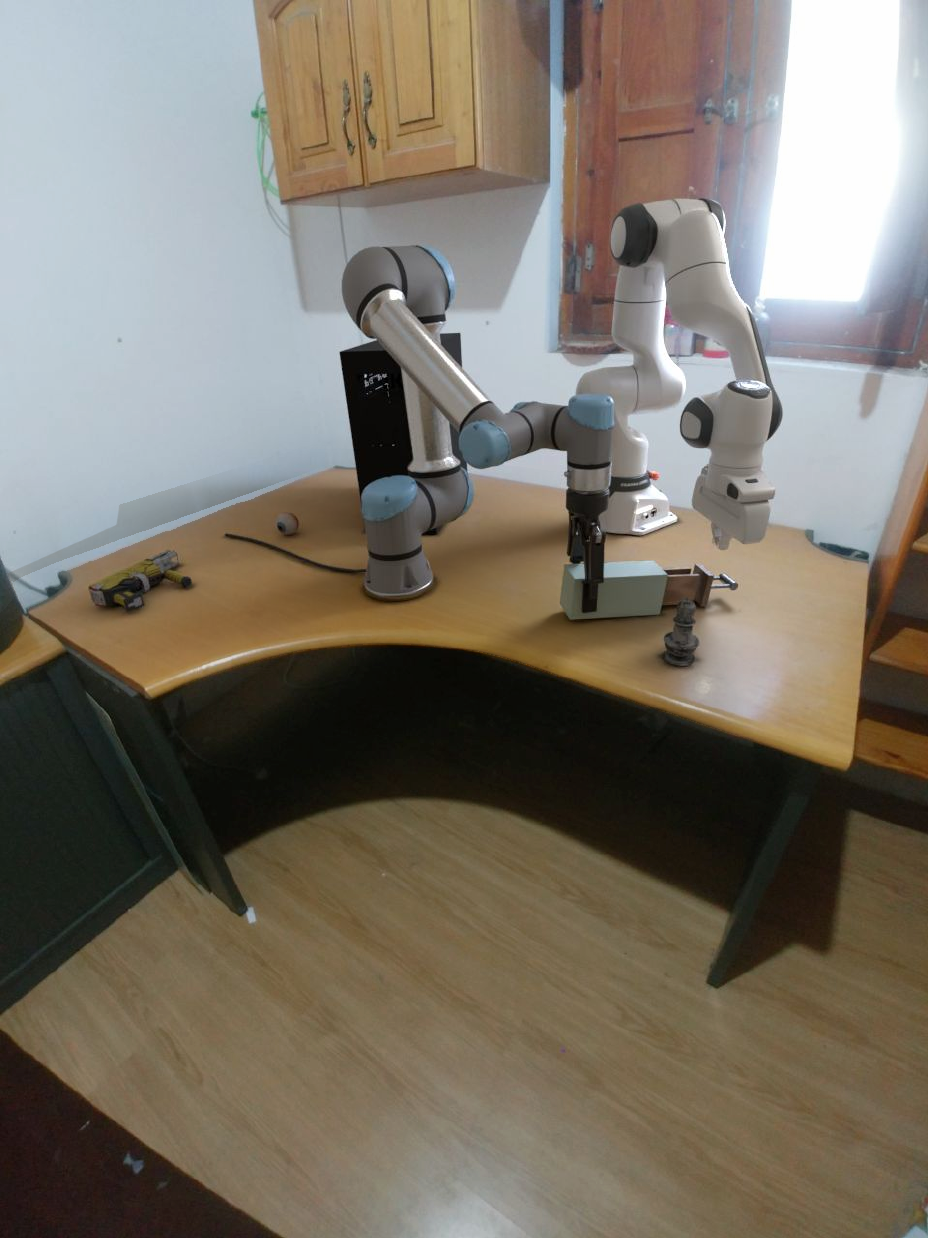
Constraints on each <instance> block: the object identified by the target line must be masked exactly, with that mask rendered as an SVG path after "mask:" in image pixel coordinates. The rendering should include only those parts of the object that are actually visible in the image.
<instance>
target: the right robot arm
mask: <svg viewBox="0 0 928 1238" xmlns="http://www.w3.org/2000/svg"><path fill="white" fill-rule="evenodd" d="M725 217H726V216H725V213H724V209H723V207H722V204H720V203H719V202H718V201H716V200H713V199H709V198H704V197H700V198H698V199H695V198H668V199H666V200H657V201H651V202H647V203H641V202H637V203H633V204H629V205H627V206H625V207H623V208H621V209H620V210H619V211H618V213H617V215H616V216H615V217H614V220H613V221H612V224H611V229H610V235H609V248H610V252H611V257H612V259H614V261H615V263H616V264H617V265H619V267H618V273H617V278H616V284H615V288H614V289H615V290H614V300H613V308H612V309H613V312H612V321H611V338H612V339H613V341H614V343H615V344H616V345H617V346H618V347H620V348H621V349H623V350H624V351H627V352H629V353H632V357H633V361H632V362H633V363H632V364H631V365H623V366H622V365H621V366H610V367H607V366H605V367H600V368H597V369H592V370H591V371H587V372H584V373H583V374H582V375H581V377H580V378H579V380H578V382H577V384H576V387H575V395H579V394H587V393H590V394H595V393H598V394H605V395H608V396H610V397H611V398H612V399H613V401H614V423H615V425H614V428H613V438H612V451H611V480H610V486H609V487H608V489H609V506H608V509H607V510H606V511H605V512H603V513H601V514H600V515H599V521H600V527H601V528H600V531H605V532H606V533H611V534H623V535H625V534H626V535H632V536H633V535H634V536H645V535H646V534H650V533H652V532H654V531H657V530H660V529H662V528H665V527H668V526H670V525H672V524H675V523H677V522H678V516H677V515H676V514H675V513H674V512H672V511H670V503H669V502H670V501H669V498H668V497H667V496H666V495H665V494H664V493H663V492H662V490H661V489H658V488H656V487H655V486H654V485H652V483H651V480H653V481H658V479H659V478H660V473H659V472H657V471H654V470H651V471H649V470H648V469H647V466H648V458H649V457H648V456H649V447H650V443H649V440H648V438H647V437H646V435H645V434H644V433H643V432H640V431H639V430H637V429H636V428H633V427H631V426H629V422H628V421H629V419H628V418H629V417H630V416H634V415H648V414H658V413H662V412H666V411H670V410H673V409H675V408H677V407H678V406H679V405H680V404H681V402H682V401H683V399H684V396H685V393H686V388H687V382H686V377H685V374H684V372H683V370H682V369H681V368H680V367H679V366H678V365H676V364H675V363H674V362H673V360H672V359H671V358H670V356H669V354H668V352H667V348H666V346H665V340H664V324H665V314H666V305H667V309H668V312H669V315H670V318H671V319H672V320H673V321H674V322H675V323H676V324H677V325H678V326H679V327H681V328H682V329H683V330H685V331H688V332H690V333H692V334H696V335H700V336H703V337H706V338H708V339H711V340H713V341H715V342H716V343H718V344H719V345H721V346H722V347H723V348H724V349H725V350H726V351H727V354H728V356H729V358H730V362H731V365H732V369H733V373H734V377H735V380H733V381H729V382H728V383H726V384H725V385H724V386H723V387H722V389H720V390H717V391H714V392H711V393H708V394H702V395H699V396H695V397H693V398H691V399H690V400H689V401H688V402H687V404H686V405H685V406H684V408H683V410H682V412H681V415H680V422H679V433H680V436H681V437H682V440H683V441H685V443H686V444H687V445H689V446H690V447H692V448H694V449H707V450H709V451H710V457H709V460H708V463H707V464H706V465H704V466H703V467H702V468H701V471H700V475H698V476H697V478H696V480H695V484H694V487H693V493H692V495H691V496H692V497H691V507H692V509H693V510H694V511H696V512H697V513H699V514H700V515H702V516H703V517H704V518H706V519H707V520H709V521H710V522H711V524H710V529H711V533H712V540H711V544H712V545H713V546H715V547H716V548H717V549H718V550H720V551H725V550H728V549H729V545H730V541H731V540H732V539H735V540H736V541H738V542H739V543H740V544H742V545H754V544H758V543H761V542H762V541H763V540H764V539H765V536H766V534H767V529H768V525H769V522H770V516H771V503H770V501H771V500H774V498H775V495H776V488H775V486H774V485H773V484H772V482H771V481H770V480H769V479H768V477H767V476H766V474H765V472H764V470H762V466H763V460H764V458H763V451H764V450H763V449H764V446H765V444H766V442H768V441H769V440H770V439H771V438H772V437H773V436H774V435H775V433H776V432H777V431H778V429H779V428H780V426H781V423H782V420H783V417H784V416H783V413H784V411H783V405H782V402H781V399H780V398H779V395H778V393H777V391H776V389H775V386H774V384H773V382H772V378H771V375H770V370H769V368H768V367H769V366H768V363H767V359H766V356H765V352H764V348H763V344H762V339H761V336H760V332H759V329H758V325H757V322H756V319H755V316H754V313H753V312H752V310H751V308H750V306H749V305H748V304H747V303H746V302H744V301H743V299H741V297H740V296H739V293H738V292H737V290H736V288H735V285H734V284H733V280H732V278H731V274H730V273H731V272H730V266H729V257H728V253H727V247H726V243H725V238H724V235H725V229H726V218H725ZM575 395H574V396H575Z"/></svg>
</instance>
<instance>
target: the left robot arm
mask: <svg viewBox="0 0 928 1238" xmlns="http://www.w3.org/2000/svg"><path fill="white" fill-rule="evenodd" d="M341 278H342V279H341V295H342V296H341V297H342V299H343V300H342V301H343V303H344V306H345V309H346V311H347V313H348V315H349V317H350V319H351V320H352V322H353V323H354V324H355V326H356V327H357V328H358V329H359V330H360V332H361V333H362V334H363V335H364V336H365V337H367V338H368V339H371V340H377V341H378V342H379V343H380V344H381V345H382V346H383V347H384V348H385V350H386V351H387V352H388V353H389V354H390V355H391V356H392V358H393V359H394V360H395V361H396V362H397V363H398V364H399V365H400V367H401V372H402V380H403V387H404V395H405V402H406V409H407V417H408V424H409V431H410V439H411V446H412V454H413V460H412V461H411V462H410V464H409V465H408V467H407V468H408V475H409V476H404V475H396V476H391V477H385V478H381V479H378V480H376V481H374V482H372V483H370V484H369V485H368V486H367V487H366V488H365V489H364V490H363V492H362V496H361V500H362V507H361V516H362V519H363V518H364V521H363V526H364V525H365V528H364V533H365V539H366V545H367V551H368V560H367V564H366V565H367V566H366V568H365V569H363V568H362V569H352V568H343V567H337V566H331V565H327V564H323V563H319V562H316V561H314V560H310V559H308V558H306V557H303V556H300V555H298V554H295V553H293V552H290V551H288V550H286V549H283V548H281V547H278V546H276V545H274V544H271V543H268V542H265V541H262V540H260V539H259V540H258V539H255V538H252V537H251V538H250V537H247V536H243V535H237V534H234V533H233V534H232V533H225V534H224V536H225V537H229V538H234V539H239V540H243V541H249V542H251V543H255V544H259V545H262V546H265V547H268V548H270V549H273V550H275V551H279V552H280V553H283V554H286V555H288V556H290V557H293V558H295V559H297V560H299V561H302V562H304V563H308V564H311V565H313V566H316V567H319V568H323V569H326V570H332V571H336V572H342V573H351V574H362V573H363V574H364V573H365V574H364V581H363V582H364V583H363V584H364V590H365V592H366V594H367V595H368V596H369V597H370V598H373V599H375V600H378V601H384V602H401V601H409V600H413V599H416V598H419V597H421V596H424V595H425V594H427V593H428V592H430V591H431V589H432V588H433V586H434V583H435V581H434V573H433V571H432V569H431V566H430V562H429V559H428V558H427V557H426V556H425V553H424V551H423V541H422V535H423V534H422V533H424V532H427V531H429V530H431V529H434V528H436V527H438V526H441V525H443V524H444V525H445V524H449V523H452V522H454V521H456V520H458V519H459V518H461V517H463V516H464V515H465V514H466V513H467V512H468V511H469V510H470V508H471V506H472V505H473V501H474V495H475V489H474V483H473V480H472V477H471V476H468V475H469V473H468V470H467V471H466V470H465V469H464V468H462V467H461V466H460V460H459V459H457V458H456V457H455V456H454V455H453V454H452V446H451V437H450V427H449V422H450V423H451V424H452V425H453V427H454V428H455V429H456V430H457V431H458V432H459V433H460V437H459V448H460V451H461V452H462V454H463V458H464V460H465V461H466V462H467V465H468V466H470V467H471V468H474V469H478V470H484V469H489V468H494V467H498V466H502V465H503V464H504V463H506V462H509V461H512V460H514V459H516V458H520V457H523V456H526V455H528V454H531V453H534V452H536V451H539V450H542V449H543V450H544V449H546V450H553V451H561V452H566V471H563V476H564V477H565V478H566V487H568V488H567V489H566V490H565V508H566V510H567V512H568V530H567V531H568V532H567V544H566V545H567V546H566V555H567V557H569V564H581V563H584V571H585V580H582V581H581V582H582V584H583V592H582V613H589V612H596V611H597V597H598V584H600V583H604V562H605V544H606V537H607V532H605V531H602V530H600V528H601V527H600V521H599V515H600V514H601V513H603V512H605V511H606V510H607V509H608V506H609V489H608V487H609V486H610V480H611V451H612V438H613V428H614V425H615V423H614V401H613V399H612V398H611V397H610V396H608V395H605V394H598V393H595V394H590V393H587V394H579V395H573V396H571V397H570V398H569V400H568V404H567V405H562V404H553V403H546V402H544V403H543V402H539V401H536V400H535V401H534V400H532V401H520V402H517V403H515V404H514V405H513V408H511V409H510V410H509V411H508V412H505V413H504V412H502V410H501V409H500V408H499V407H498V406H497V405H496V404H495V403H494V401H492V399H490V397H489V396H488V395H487V394H486V393H485V392H484V390H483V389H482V388H481V387H480V386H479V385H478V384H477V383H476V382H475V381H474V380H473V378H472V377H471V376H470V375H469V374H468V373H467V372H466V370H464V368H463V367H462V368H461V366H460V365H459V364H458V363H457V362H456V361H455V360H454V359H453V358H452V356H451V355H450V354H449V353H448V352H447V351H446V350H445V349H444V348H443V346H442V345H441V342H440V333H441V331H442V330H443V328H444V327H445V325H446V324H447V316H446V311H447V310H448V309H449V308H450V307H451V306H452V304H453V302H452V301H453V300H454V298H455V294H456V282H455V276H454V272H453V270H452V267H451V264H450V263H449V261H448V259H447V258H446V257H445V256H444V255H443V254H442V253H441V252H440V251H439V250H438V249H436V248H434V247H430V246H423V245H419V244H416V245H412V244H411V245H397V246H396V245H395V246H368V247H365V248H362V249H360V250H358V251H357V252H356V253H355V254H354V255H352V257H351V258H350V259H349V261H348V262H347V263H346V266H345V268H344V269H343V273H342V277H341ZM361 500H360V501H361ZM444 525H443V526H444Z"/></svg>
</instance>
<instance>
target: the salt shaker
mask: <svg viewBox="0 0 928 1238" xmlns="http://www.w3.org/2000/svg"><path fill="white" fill-rule="evenodd" d="M685 599H686V600H682V601H680V602H679V603H678V604H677V606H676V611H675V616H674V617H673V618H672V622H673V629H672V631H668V632H666V633H665V634H664V635H663V637H662V641H663V642H664V646H665V649H666V650H664V652H663V653H662V658H663V660H665V662H667V663H669V664H671V665H673V666H679V667H686V666H687V667H688V666H691V665H692V664H693V663H694V662H695V661H696V657H695V655H694V653H695V651H696V650H697V649H698V647H699V645H700V639H699V638H698V637H697V636H696V635H694V634H693V628H694V626H695V625H696V623H697V621H696V619H695V614H696V608H697V606H696V604H695V601H694V602H692V601H690V600H689V599H690V598H689V597H688V596H687V597H686V598H685Z"/></svg>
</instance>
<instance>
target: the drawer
mask: <svg viewBox="0 0 928 1238" xmlns="http://www.w3.org/2000/svg"><path fill="white" fill-rule="evenodd" d="M661 568H662V569H663V570H664V571H665V572H666V573H667V574H668V577H667V582H666V587H665V591H664V596H663V601H662V606H675V605H678V603H679V602H680V601H682V600H686V599H685V598H686V597H687V596H688V597H689V598H690V599H689V600H690V601H692V602H694V603H695V602H696V603H697V604H698V605H699V606H700V607H707V606H708V602H709V598H710V594H711V590H713V589H729V590H730V591H736V590H737V589H738V588H739V584H738V582H736V581H735V580H734V579H733V578H732V577H730V576H729V575H727V574H726V573H725V572H722V573H720V574H719V575H716V576H715V574H713V573H712V572H711V571H710V570H709V569H707V568H706V567H705V566H704V565H702V564H701V563H695V564H694V566H693V570H692V567H691V566H684V567H683V566H681V567H661ZM714 581H720V582H721V584H719V583H718V584H713V583H714Z"/></svg>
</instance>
